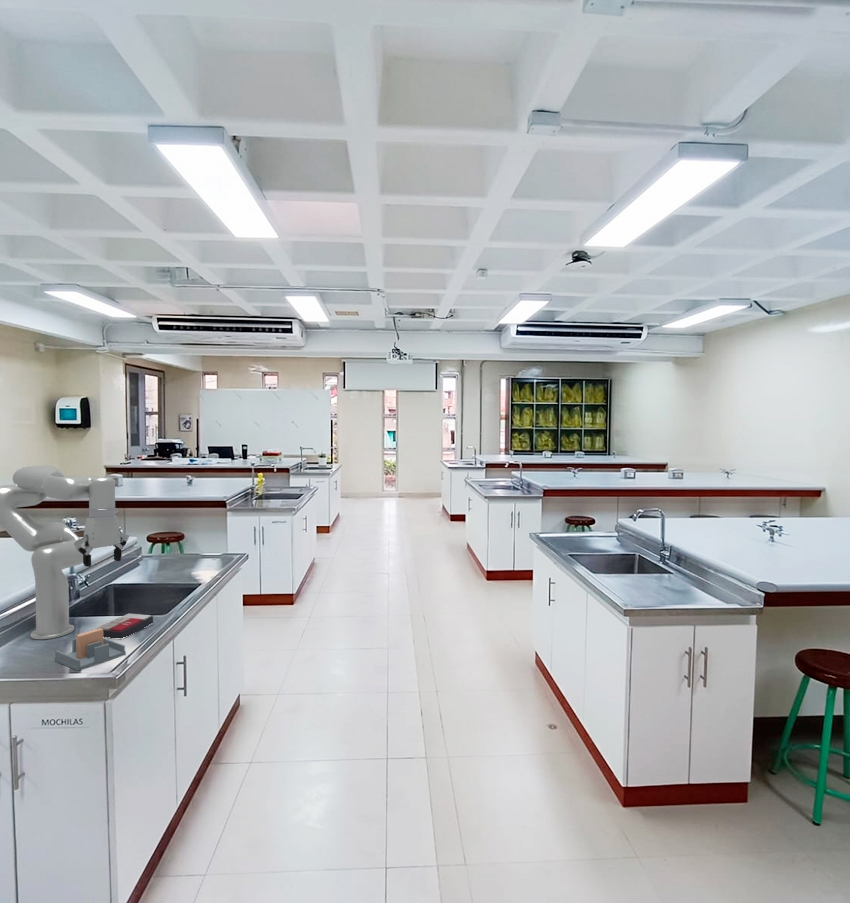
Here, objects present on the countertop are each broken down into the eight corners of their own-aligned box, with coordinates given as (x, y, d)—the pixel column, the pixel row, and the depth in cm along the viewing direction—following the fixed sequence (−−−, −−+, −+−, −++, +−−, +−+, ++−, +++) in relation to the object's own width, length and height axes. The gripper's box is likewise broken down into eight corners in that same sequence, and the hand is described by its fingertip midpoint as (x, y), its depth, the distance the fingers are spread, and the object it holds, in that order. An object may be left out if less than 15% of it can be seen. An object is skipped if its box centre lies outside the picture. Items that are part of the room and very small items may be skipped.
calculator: (94, 627, 180) (128, 611, 194) (95, 639, 180) (129, 622, 195) (121, 630, 177) (153, 613, 192) (121, 642, 178) (153, 625, 192)
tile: (76, 657, 160) (76, 635, 160) (100, 649, 166) (99, 628, 166) (79, 659, 159) (79, 636, 159) (103, 651, 165) (103, 629, 165)
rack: (54, 660, 160) (54, 644, 160) (102, 645, 172) (102, 630, 172) (77, 671, 153) (77, 654, 152) (125, 654, 164) (125, 638, 164)
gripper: (122, 510, 186) (122, 557, 186) (68, 515, 171) (69, 567, 171) (133, 511, 182) (134, 559, 182) (80, 517, 167) (80, 570, 167)
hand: (102, 563), depth 177 cm, fingers open, 9 cm apart
